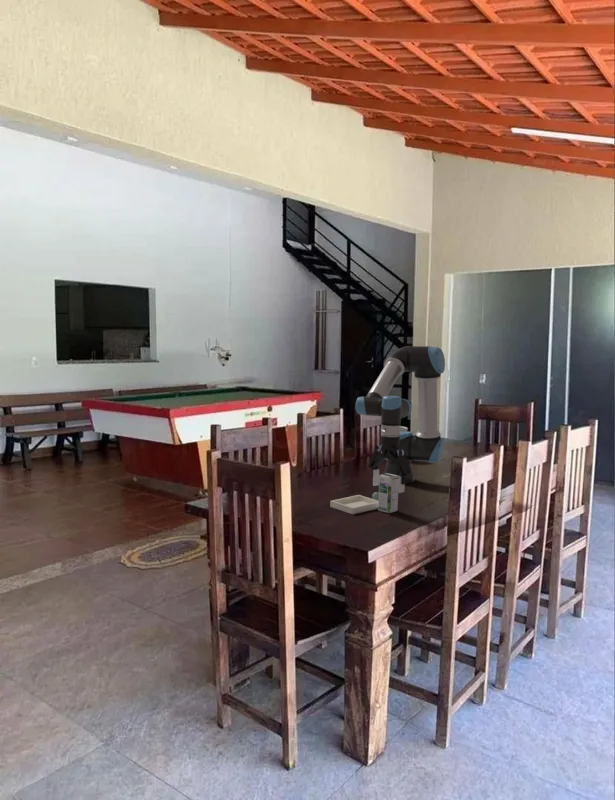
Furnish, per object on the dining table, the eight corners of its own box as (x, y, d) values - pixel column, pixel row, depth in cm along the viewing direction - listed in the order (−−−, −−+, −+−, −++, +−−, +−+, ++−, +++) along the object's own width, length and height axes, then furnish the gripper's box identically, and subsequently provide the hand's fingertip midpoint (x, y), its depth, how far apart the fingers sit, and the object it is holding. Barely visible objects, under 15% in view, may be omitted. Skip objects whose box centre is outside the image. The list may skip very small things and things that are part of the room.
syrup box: (377, 510, 248) (378, 474, 246) (386, 507, 252) (387, 472, 250) (388, 513, 244) (390, 477, 242) (398, 510, 248) (399, 475, 246)
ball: (376, 499, 265) (376, 490, 265) (382, 500, 262) (382, 492, 262) (370, 500, 263) (370, 492, 262) (376, 502, 260) (376, 493, 259)
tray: (358, 500, 262) (358, 494, 262) (381, 507, 252) (381, 501, 252) (330, 506, 252) (330, 500, 251) (352, 514, 242) (352, 508, 242)
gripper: (361, 432, 252) (359, 483, 254) (408, 440, 233) (406, 496, 235) (374, 430, 257) (372, 481, 259) (421, 439, 238) (419, 493, 240)
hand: (388, 488), depth 247 cm, fingers open, 13 cm apart
